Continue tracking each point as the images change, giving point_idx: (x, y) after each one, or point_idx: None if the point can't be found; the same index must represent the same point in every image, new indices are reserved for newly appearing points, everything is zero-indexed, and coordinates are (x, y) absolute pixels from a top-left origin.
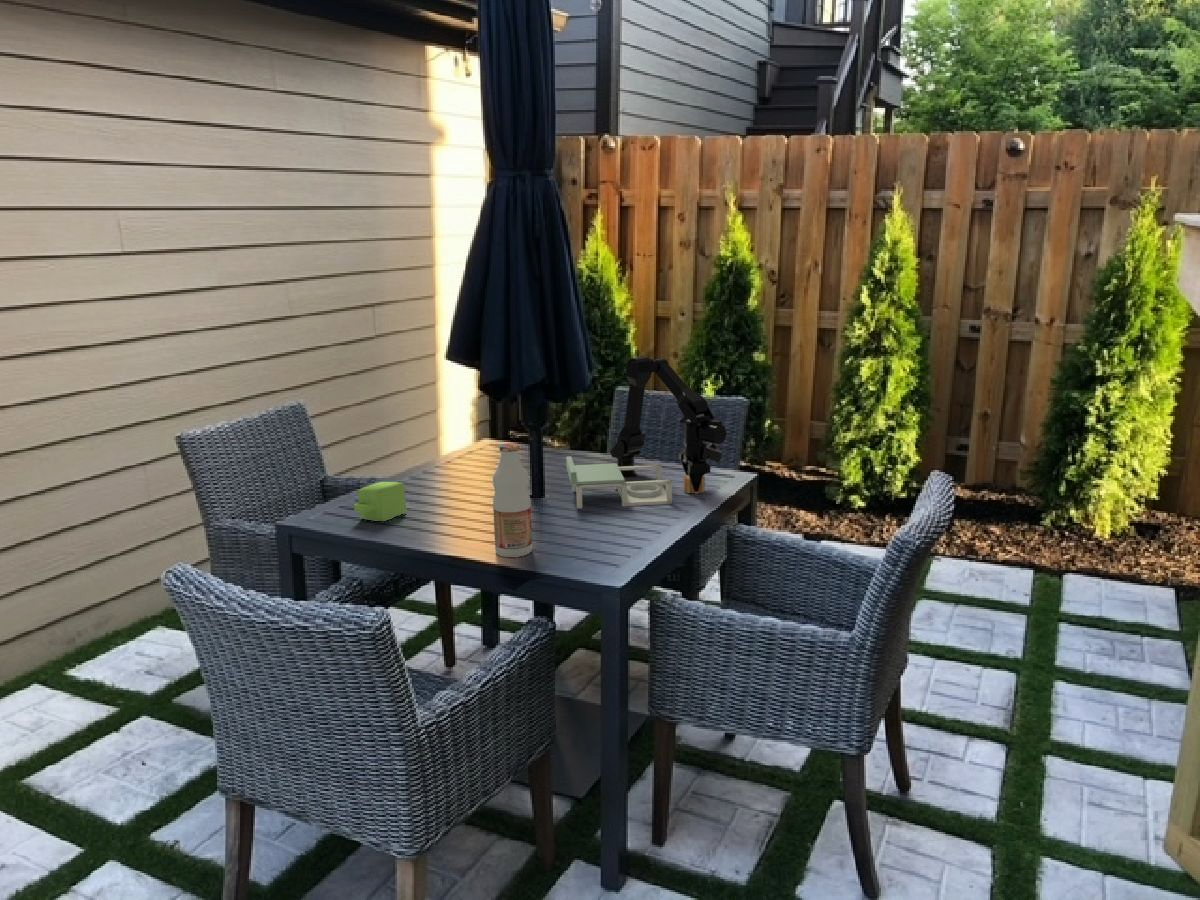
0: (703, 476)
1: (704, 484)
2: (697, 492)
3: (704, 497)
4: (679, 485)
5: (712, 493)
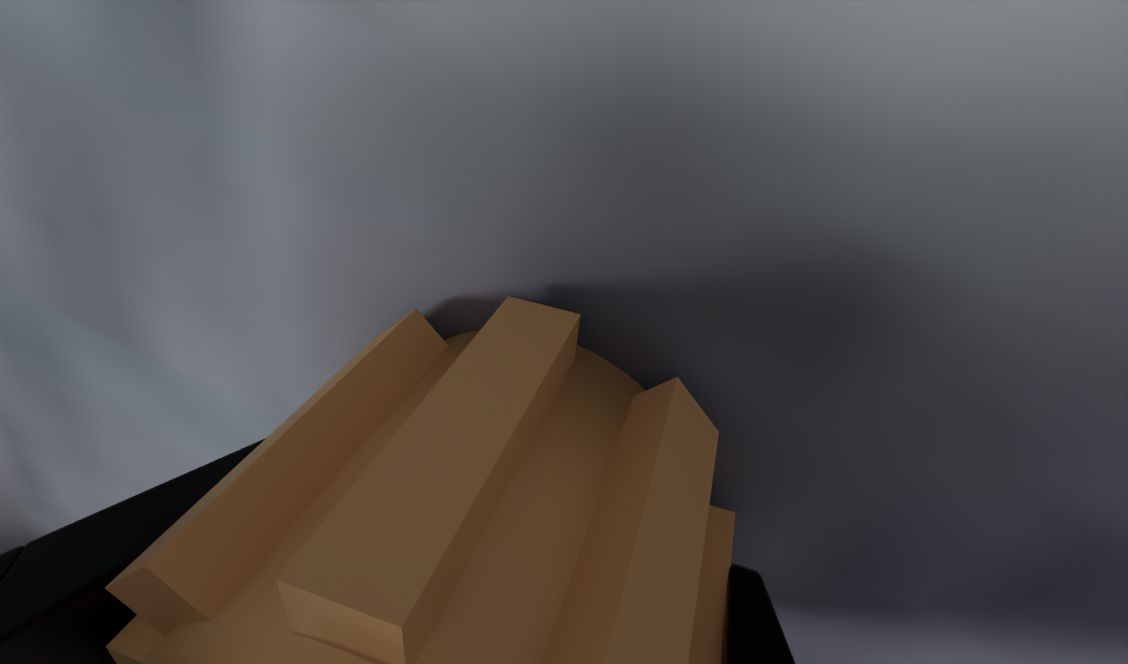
0: (330, 620)
1: (525, 417)
2: (729, 537)
3: (1032, 506)
4: (195, 460)
5: (808, 196)
